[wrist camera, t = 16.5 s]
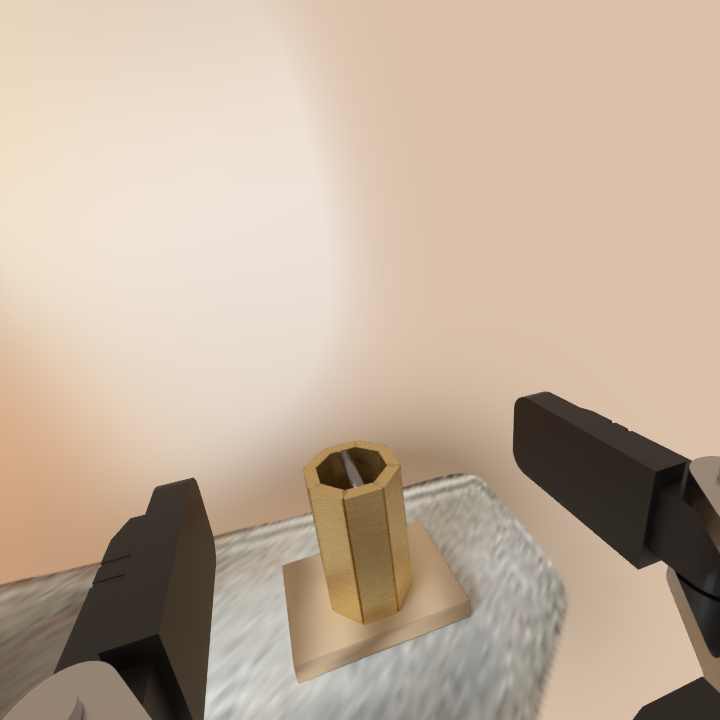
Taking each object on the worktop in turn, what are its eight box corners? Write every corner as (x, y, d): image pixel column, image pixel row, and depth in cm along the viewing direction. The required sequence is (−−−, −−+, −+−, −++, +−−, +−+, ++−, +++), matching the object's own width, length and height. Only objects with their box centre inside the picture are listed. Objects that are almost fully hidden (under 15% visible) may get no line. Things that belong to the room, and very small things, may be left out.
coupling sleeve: (337, 634, 25) (312, 508, 22) (321, 563, 31) (299, 454, 27) (423, 603, 26) (411, 480, 23) (392, 541, 32) (379, 434, 29)
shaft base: (298, 683, 24) (267, 565, 21) (285, 579, 31) (261, 481, 28) (470, 615, 27) (465, 502, 24) (421, 535, 34) (413, 441, 31)
